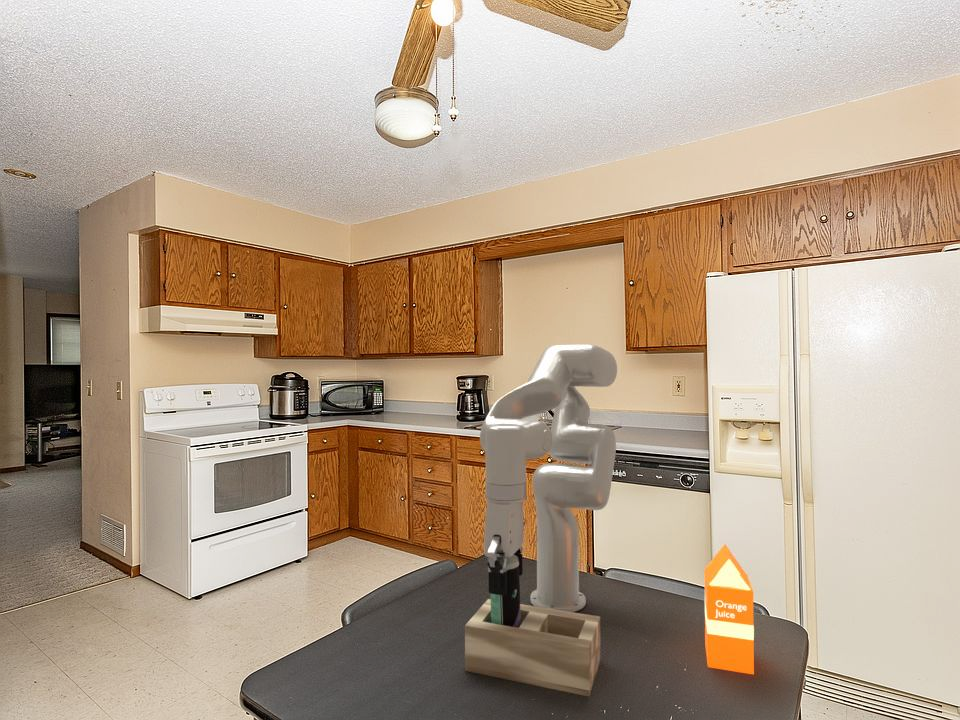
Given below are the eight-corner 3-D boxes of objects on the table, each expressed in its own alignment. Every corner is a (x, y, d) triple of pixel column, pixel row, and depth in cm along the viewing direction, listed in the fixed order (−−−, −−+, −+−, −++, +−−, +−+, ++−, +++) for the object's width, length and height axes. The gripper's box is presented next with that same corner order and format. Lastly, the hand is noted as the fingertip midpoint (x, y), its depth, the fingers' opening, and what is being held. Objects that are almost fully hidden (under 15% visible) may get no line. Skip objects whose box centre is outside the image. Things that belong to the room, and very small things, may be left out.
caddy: (488, 639, 110) (488, 598, 110) (600, 660, 102) (600, 616, 102) (465, 670, 99) (464, 625, 99) (589, 696, 91) (588, 647, 91)
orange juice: (748, 650, 106) (747, 545, 106) (754, 674, 97) (753, 560, 97) (704, 643, 108) (703, 540, 108) (706, 667, 100) (705, 555, 100)
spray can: (519, 662, 99) (516, 550, 100) (489, 660, 100) (486, 549, 101) (523, 647, 105) (520, 540, 105) (495, 645, 106) (491, 539, 106)
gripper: (501, 480, 112) (502, 565, 112) (469, 500, 96) (470, 599, 96) (537, 483, 109) (538, 569, 109) (510, 504, 93) (511, 606, 93)
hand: (506, 583), depth 103 cm, fingers open, 9 cm apart
